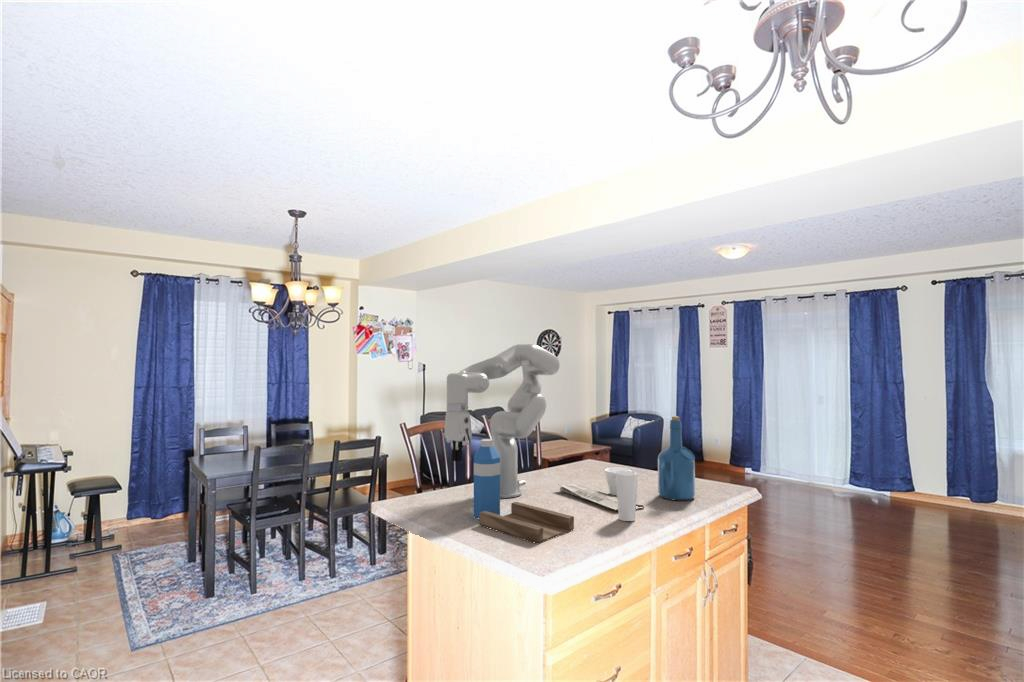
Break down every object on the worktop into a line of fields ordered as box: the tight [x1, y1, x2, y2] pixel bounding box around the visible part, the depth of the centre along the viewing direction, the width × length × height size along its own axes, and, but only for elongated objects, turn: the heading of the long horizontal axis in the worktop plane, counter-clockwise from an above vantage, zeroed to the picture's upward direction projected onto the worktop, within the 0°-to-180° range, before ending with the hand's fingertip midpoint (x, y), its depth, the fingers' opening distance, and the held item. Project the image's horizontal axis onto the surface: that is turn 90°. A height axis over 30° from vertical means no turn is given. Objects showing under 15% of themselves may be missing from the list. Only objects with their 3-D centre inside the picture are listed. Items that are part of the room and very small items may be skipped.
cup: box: [604, 467, 632, 497], centre depth 200 cm, size 10×10×9 cm
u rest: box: [478, 501, 575, 544], centre depth 161 cm, size 17×24×4 cm
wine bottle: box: [657, 415, 696, 501], centre depth 196 cm, size 14×13×30 cm
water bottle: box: [473, 438, 501, 519], centre depth 173 cm, size 9×9×25 cm
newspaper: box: [559, 483, 645, 512], centre depth 192 cm, size 35×12×4 cm, turn 33°
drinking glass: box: [616, 470, 638, 522], centre depth 168 cm, size 7×7×15 cm
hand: (457, 460), depth 184 cm, fingers closed
